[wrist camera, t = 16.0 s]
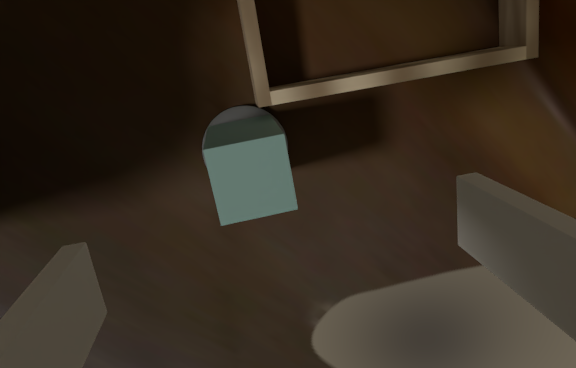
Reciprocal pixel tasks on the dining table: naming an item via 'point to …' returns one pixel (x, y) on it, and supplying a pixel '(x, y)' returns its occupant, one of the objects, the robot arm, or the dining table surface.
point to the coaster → (239, 118)
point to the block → (249, 169)
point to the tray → (512, 47)
